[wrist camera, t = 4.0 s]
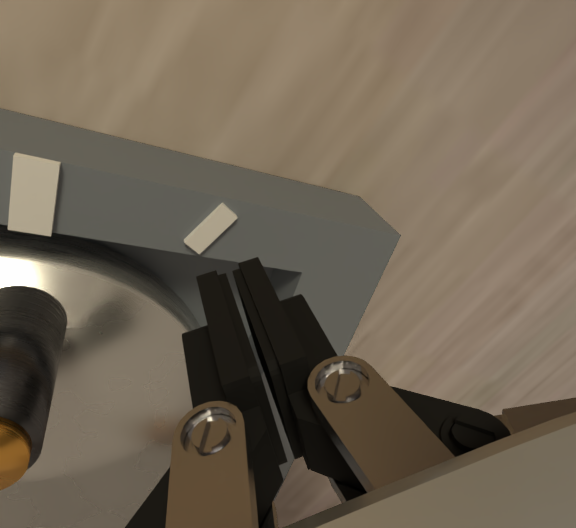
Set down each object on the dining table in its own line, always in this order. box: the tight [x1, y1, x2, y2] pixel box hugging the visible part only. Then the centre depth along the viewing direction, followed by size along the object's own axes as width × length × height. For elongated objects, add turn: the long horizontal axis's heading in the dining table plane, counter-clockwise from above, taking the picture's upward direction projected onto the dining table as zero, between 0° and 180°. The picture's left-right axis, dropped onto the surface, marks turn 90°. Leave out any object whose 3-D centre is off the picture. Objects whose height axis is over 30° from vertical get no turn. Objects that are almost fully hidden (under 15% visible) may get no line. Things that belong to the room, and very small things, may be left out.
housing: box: [0, 108, 401, 500], centre depth 17 cm, size 22×20×4 cm
